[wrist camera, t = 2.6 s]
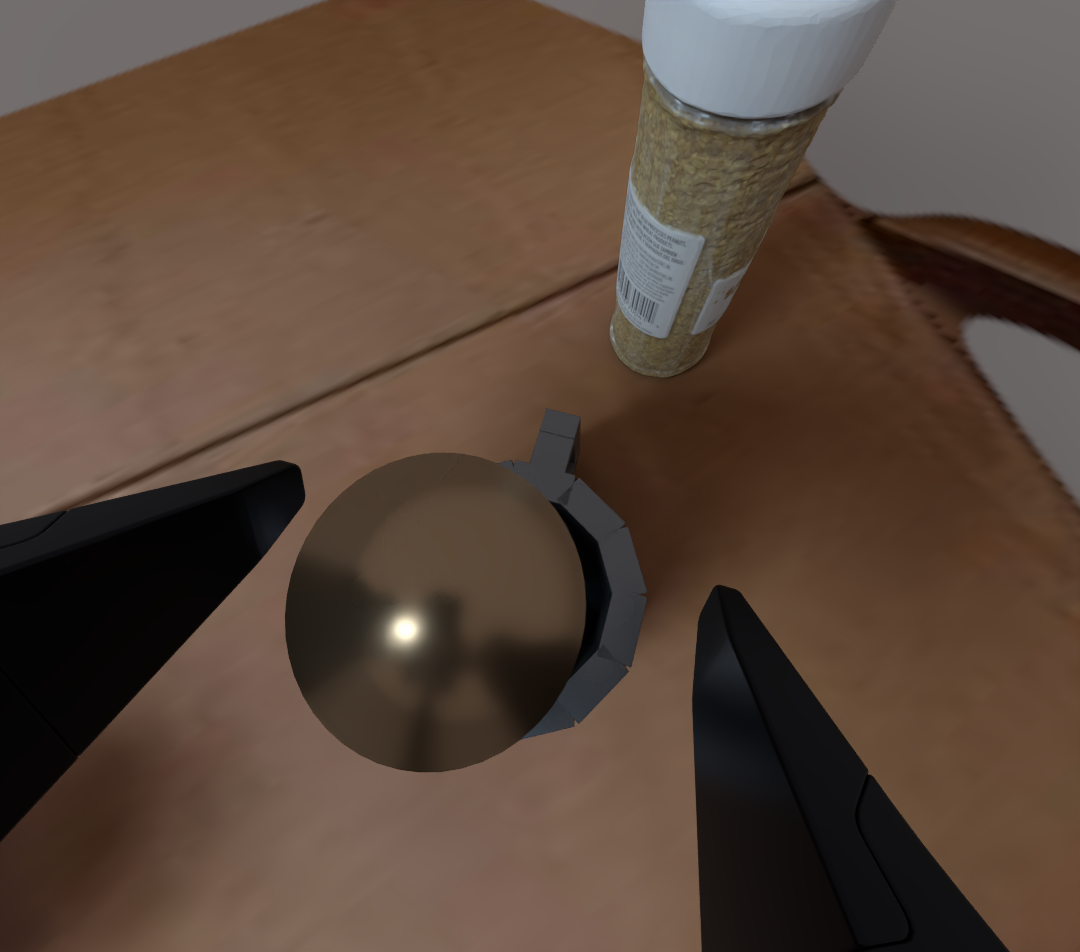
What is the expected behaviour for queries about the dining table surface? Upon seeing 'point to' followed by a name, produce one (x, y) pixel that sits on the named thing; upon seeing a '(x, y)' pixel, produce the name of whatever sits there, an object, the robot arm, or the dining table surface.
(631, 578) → the press body
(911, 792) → the dining table surface
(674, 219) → the sprinkles bottle
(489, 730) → the plunger
